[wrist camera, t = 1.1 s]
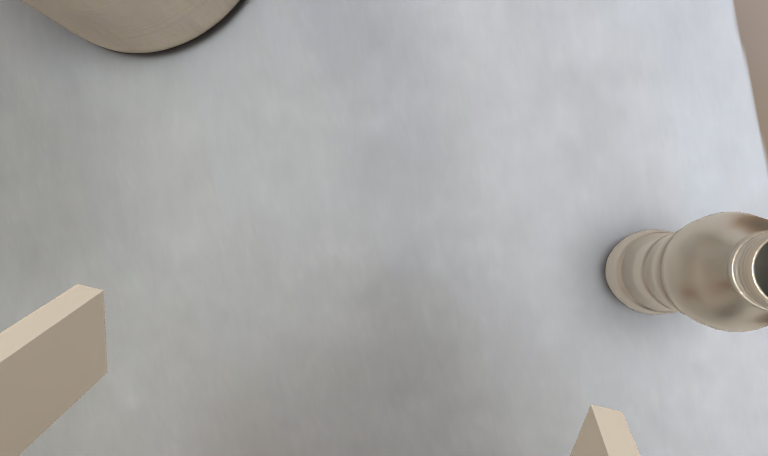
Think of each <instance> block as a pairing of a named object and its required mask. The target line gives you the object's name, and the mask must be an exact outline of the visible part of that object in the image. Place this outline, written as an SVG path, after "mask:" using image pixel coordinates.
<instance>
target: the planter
mask: <svg viewBox="0 0 768 456" xmlns="http://www.w3.org/2000/svg"><path fill="white" fill-rule="evenodd" d="M22 1H23V2H25V3H26V4H28V5H29V6H31V7H33V8H34V9H36V10H37V11H39V12H40V13H42V14H44V15H45V16H47V17H48V18H50V19H52V20H53V21H55V22H56V23H58V24H60V25H61V26H63V27H64V28H66V29H68V30H69V31H71V32H73V33H74V34H76V35H78V36H79V37H81V38H83V39H85V40H87V41H89V42H92V43H94V44H96V45H99V46H101V47H104V48H107V49H110V50H114V51H119V52H125V53H150V52H157V51H162V50H166V49H169V48H173V47H176V46H179V45H181V44H184V43H186V42H188V41H191V40H193V39H195V38H196V37H198V36H200V35H201V34H203V33H205V32H206V31H208V30H209V29H210V28H212V27H213V26H215V25H216V24H217V23H218V22H220V21H221V20H222V19H223V18H224V17H225V16H226V15H227V14H228V13H229V12H230V11H231V10H232V9H233V8H234V7H235V6H236V4H237V3H238V2H239V1H240V0H22Z"/></svg>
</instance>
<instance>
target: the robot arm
mask: <svg viewBox="0 0 768 456" xmlns="http://www.w3.org/2000/svg"><path fill="white" fill-rule="evenodd" d="M106 373H107V353H106V331H105V310H104V290H100V289H96V288H92V287H87V286H83V285H79V284H77V285H75V286H74V287H72V288H70V289H69V290H67V291H66V292H64V293H63V294H61V295H59V296H58V297H56V298H55V299H53V300H52V301H50V302H48V303H47V304H45V305H44V306H42V307H41V308H39V309H37V310H36V311H34V312H33V313H31V314H30V315H28V316H26V317H25V318H23V319H22V320H20V321H19V322H17V323H15V324H14V325H12V326H11V327H9V328H8V329H6V330H4V331H3V332H1V333H0V456H19V455H20V454H21V453H22V452H23V451H24V450H25V449H26V448H27V447H28V446H29V445H30V444H31V443H32V442H34V441H35V440H36V439H37V438H38V437H39V436H40V435H41V434H42V433H43V432H44V431H45V430H46V429H47V428H49V427H50V426H51V425H52V424H53V423H54V422H55V421H56V420H57V419H58V418H59V417H60V416H61V415H62V414H63V413H65V412H66V411H67V410H68V409H69V408H70V407H71V406H72V405H73V404H74V403H75V402H76V401H77V400H78V399H79V398H81V397H82V396H83V395H84V394H85V393H86V392H87V391H88V390H89V389H90V388H91V387H92V386H93V385H94V384H96V383H97V382H98V381H99V380H100V379H101V378H102V377H103V376H104V375H105V374H106ZM570 456H640V454H639V451H638V449H637V446H636V444H635V442H634V439H633V437H632V435H631V432H630V430H629V427H628V425H627V423H626V420H625V418H624V415H623V413H622V412H621V411H616V410H612V409H608V408H603V407H599V406H595V405H591V406H590V408H589V411H588V413H587V416H586V418H585V421H584V423H583V426H582V428H581V431H580V433H579V435H578V438H577V440H576V443H575V445H574V448H573V450H572V453H571V455H570Z"/></svg>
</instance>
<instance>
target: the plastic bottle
mask: <svg viewBox="0 0 768 456" xmlns="http://www.w3.org/2000/svg"><path fill="white" fill-rule="evenodd" d="M605 269H606V279H607V283H608V285H609V287H610V289H611V291H612V292H613V293H614V295H615V296H616V297H617V298H618V299H619V300H620V301H621V302H622V303H624V304H625V305H626V306H628V307H630V308H631V309H633V310H636V311H638V312H641V313H646V314H667V313H673V312H677V311H678V312H681V313H683V314H685V315H686V316H688V317H690V318H691V319H693V320H695V321H696V322H699V323H701V324H704V325H707V326H709V327H712V328H715V329H718V330H723V331H729V332H746V331H752V330H757V329H760V328H763V327H766V326H768V220H767V219H764V218H761V217H758V216H755V215H751V214H747V213H740V212H721V213H716V214H711V215H708V216H706V217H703V218H701V219H698V220H696V221H693V222H691V223H689V224H688V225H686V226H685V227H683V228H682V229H680V230H679V231H676V232H674V233H673V232H669V231H662V230H644V231H639V232H636V233H634V234H631V235H629V236H627V237H626V238H624V239H623V240H621V241H620V242H619V243H618V244H617V245H616V246H615V247H614V249H613V250H612V252H611V253H610V255H609V257H608V259H607V263H606V268H605Z"/></svg>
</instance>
